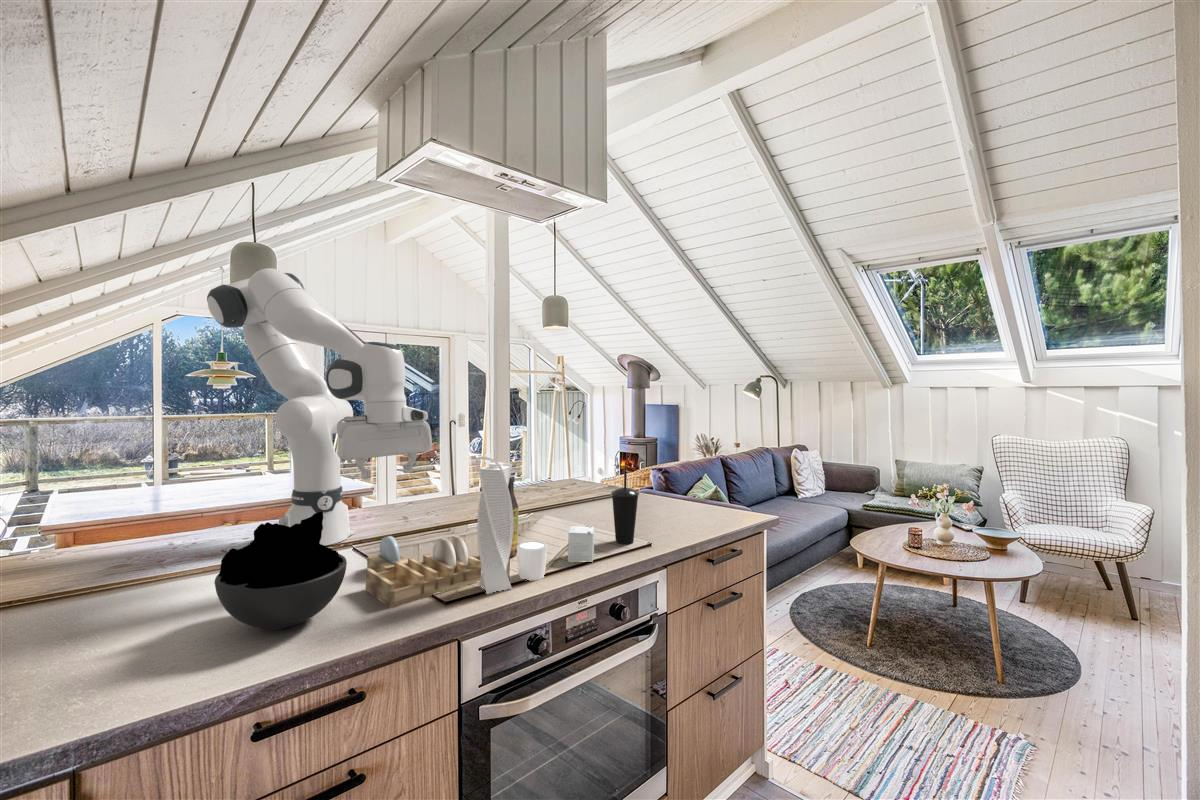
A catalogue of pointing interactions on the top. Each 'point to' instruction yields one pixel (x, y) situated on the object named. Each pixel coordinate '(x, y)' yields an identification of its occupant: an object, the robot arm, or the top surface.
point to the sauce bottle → (515, 517)
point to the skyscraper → (495, 525)
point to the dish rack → (425, 574)
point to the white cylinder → (532, 559)
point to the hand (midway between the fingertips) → (387, 475)
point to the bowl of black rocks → (280, 575)
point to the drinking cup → (624, 512)
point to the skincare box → (580, 544)
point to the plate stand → (382, 563)
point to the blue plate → (389, 550)
